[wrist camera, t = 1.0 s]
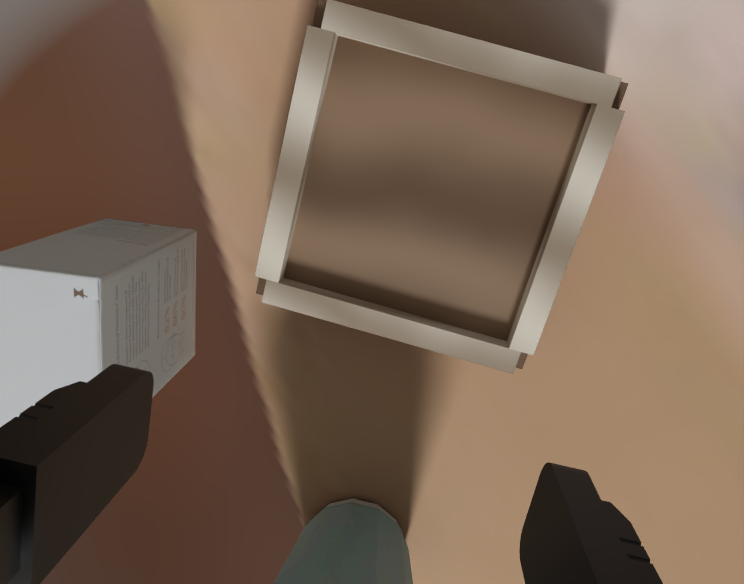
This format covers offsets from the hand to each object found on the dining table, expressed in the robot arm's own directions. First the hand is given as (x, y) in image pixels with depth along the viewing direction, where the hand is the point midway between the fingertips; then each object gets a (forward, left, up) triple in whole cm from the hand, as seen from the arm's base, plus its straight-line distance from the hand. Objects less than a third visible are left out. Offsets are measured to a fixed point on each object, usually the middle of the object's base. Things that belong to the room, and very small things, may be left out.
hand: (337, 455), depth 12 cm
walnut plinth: (-3, +1, -22) cm, 22 cm away
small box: (+7, -13, -22) cm, 27 cm away
